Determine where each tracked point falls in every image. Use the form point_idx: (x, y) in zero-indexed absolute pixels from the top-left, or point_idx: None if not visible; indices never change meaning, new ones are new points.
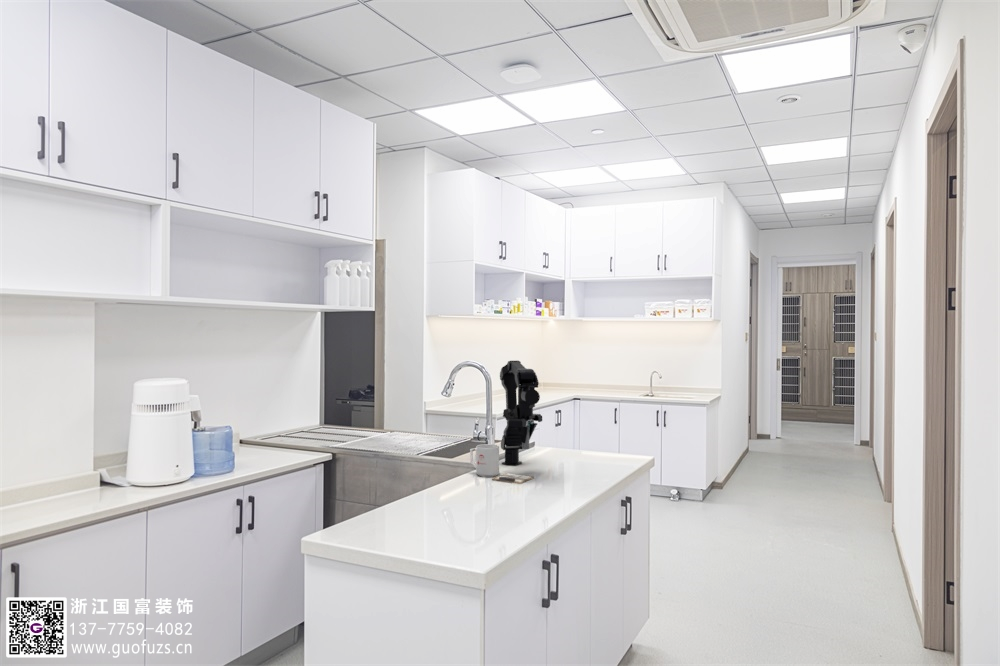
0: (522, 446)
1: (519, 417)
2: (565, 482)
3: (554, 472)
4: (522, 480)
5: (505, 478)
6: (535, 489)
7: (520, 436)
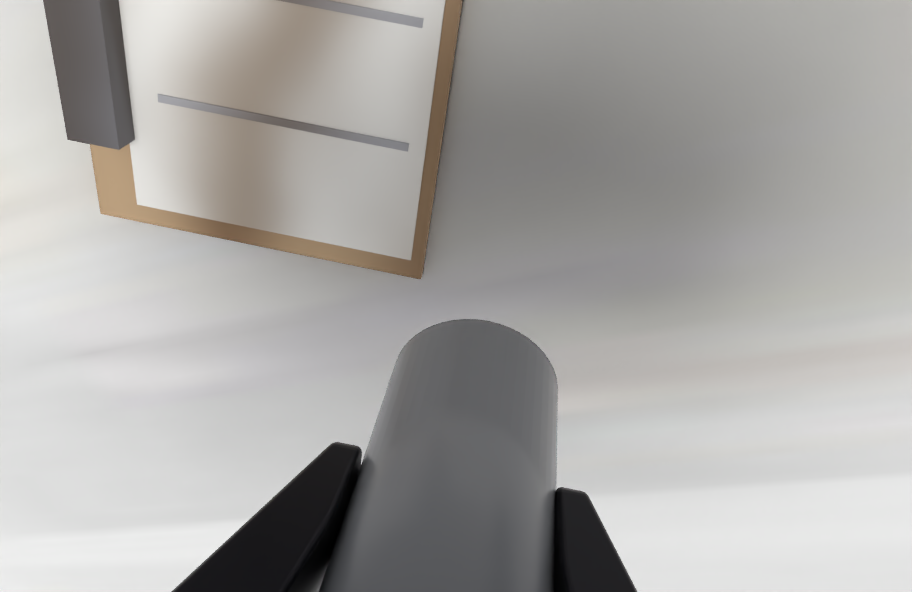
0: (399, 369)
1: None
2: None
3: (758, 412)
4: (192, 211)
5: (49, 27)
6: (28, 365)
7: (199, 572)
